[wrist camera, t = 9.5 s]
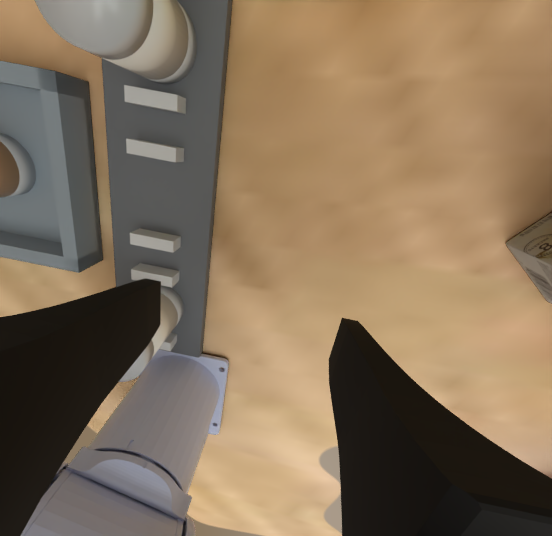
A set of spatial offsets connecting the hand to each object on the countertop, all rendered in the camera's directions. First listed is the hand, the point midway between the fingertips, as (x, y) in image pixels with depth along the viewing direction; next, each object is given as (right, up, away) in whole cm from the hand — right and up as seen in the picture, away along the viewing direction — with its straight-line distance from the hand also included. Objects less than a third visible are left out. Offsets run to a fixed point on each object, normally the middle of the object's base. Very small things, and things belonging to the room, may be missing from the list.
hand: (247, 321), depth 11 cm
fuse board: (-7, +7, +8) cm, 13 cm away
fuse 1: (-5, +14, +4) cm, 16 cm away
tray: (-17, +9, +9) cm, 22 cm away
